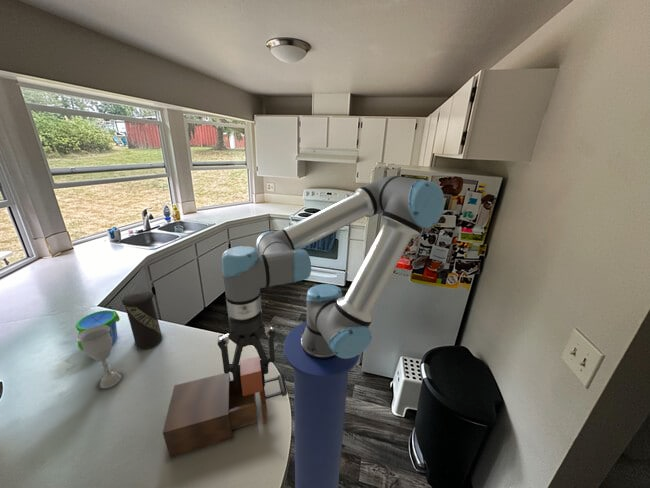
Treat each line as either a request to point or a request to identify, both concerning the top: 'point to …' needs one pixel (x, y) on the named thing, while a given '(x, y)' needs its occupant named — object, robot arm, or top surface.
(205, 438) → the cabinet
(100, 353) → the chalice
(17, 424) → the top surface
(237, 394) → the drawer
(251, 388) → the block
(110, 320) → the snack cup
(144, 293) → the container
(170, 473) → the top surface
